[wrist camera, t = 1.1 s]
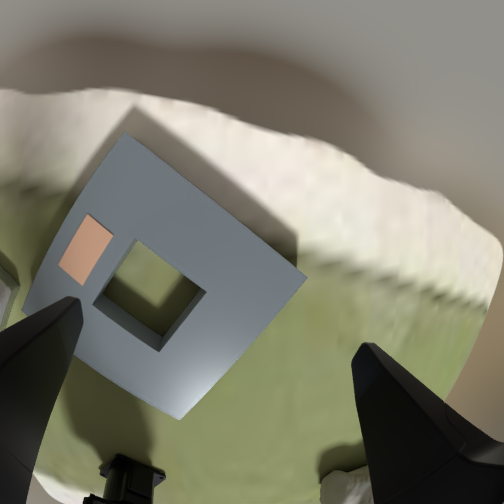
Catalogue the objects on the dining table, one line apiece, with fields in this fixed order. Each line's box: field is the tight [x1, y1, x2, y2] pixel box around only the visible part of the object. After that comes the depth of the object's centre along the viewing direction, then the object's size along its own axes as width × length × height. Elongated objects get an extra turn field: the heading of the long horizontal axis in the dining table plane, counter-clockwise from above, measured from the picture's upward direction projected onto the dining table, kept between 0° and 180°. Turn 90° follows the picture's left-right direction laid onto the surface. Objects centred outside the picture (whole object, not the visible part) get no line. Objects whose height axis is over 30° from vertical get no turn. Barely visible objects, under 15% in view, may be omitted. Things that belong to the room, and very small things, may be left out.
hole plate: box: [22, 132, 308, 420], centre depth 20 cm, size 16×16×3 cm
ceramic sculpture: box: [320, 465, 374, 504], centre depth 27 cm, size 11×9×15 cm
